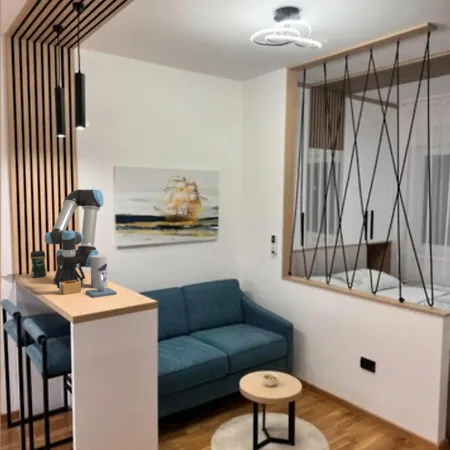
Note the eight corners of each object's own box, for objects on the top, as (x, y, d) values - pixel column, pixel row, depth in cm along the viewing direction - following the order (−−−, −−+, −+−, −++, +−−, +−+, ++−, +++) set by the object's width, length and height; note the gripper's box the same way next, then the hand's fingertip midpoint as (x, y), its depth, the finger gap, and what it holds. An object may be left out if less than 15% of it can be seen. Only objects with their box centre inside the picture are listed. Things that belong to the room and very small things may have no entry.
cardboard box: (59, 291, 261) (59, 281, 261) (75, 289, 267) (75, 279, 267) (63, 294, 253) (63, 284, 253) (80, 292, 259) (80, 282, 259)
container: (102, 288, 270) (102, 257, 269) (88, 287, 272) (87, 256, 271) (110, 284, 280) (109, 254, 278) (96, 284, 282) (95, 254, 280)
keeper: (85, 293, 258) (85, 273, 257) (108, 289, 266) (107, 270, 265) (93, 297, 247) (93, 277, 246) (116, 294, 255) (116, 274, 254)
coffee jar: (43, 275, 311) (42, 249, 310) (47, 276, 305) (46, 251, 304) (29, 276, 305) (28, 251, 303) (33, 278, 299) (32, 252, 297)
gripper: (50, 258, 249) (51, 295, 250) (90, 255, 262) (91, 290, 264) (47, 257, 255) (48, 293, 256) (86, 253, 268) (87, 288, 270)
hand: (70, 291), depth 260 cm, fingers open, 11 cm apart
